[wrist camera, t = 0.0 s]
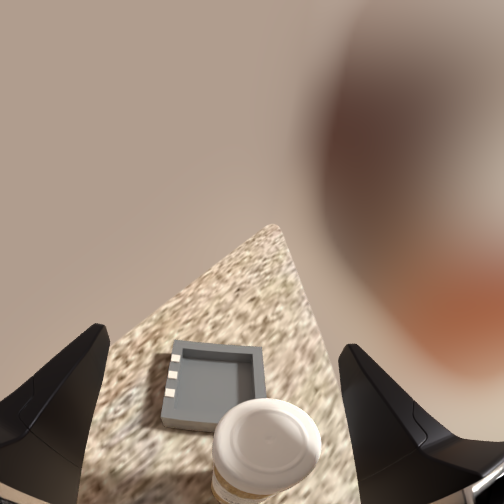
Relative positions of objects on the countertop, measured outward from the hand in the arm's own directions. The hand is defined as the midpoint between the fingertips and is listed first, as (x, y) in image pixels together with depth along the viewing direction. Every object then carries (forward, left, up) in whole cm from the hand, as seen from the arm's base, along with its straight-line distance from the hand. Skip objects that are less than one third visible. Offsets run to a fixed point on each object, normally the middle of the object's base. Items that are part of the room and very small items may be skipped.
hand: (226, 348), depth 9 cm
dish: (+8, 0, -17) cm, 18 cm away
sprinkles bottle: (-2, -2, -17) cm, 17 cm away
